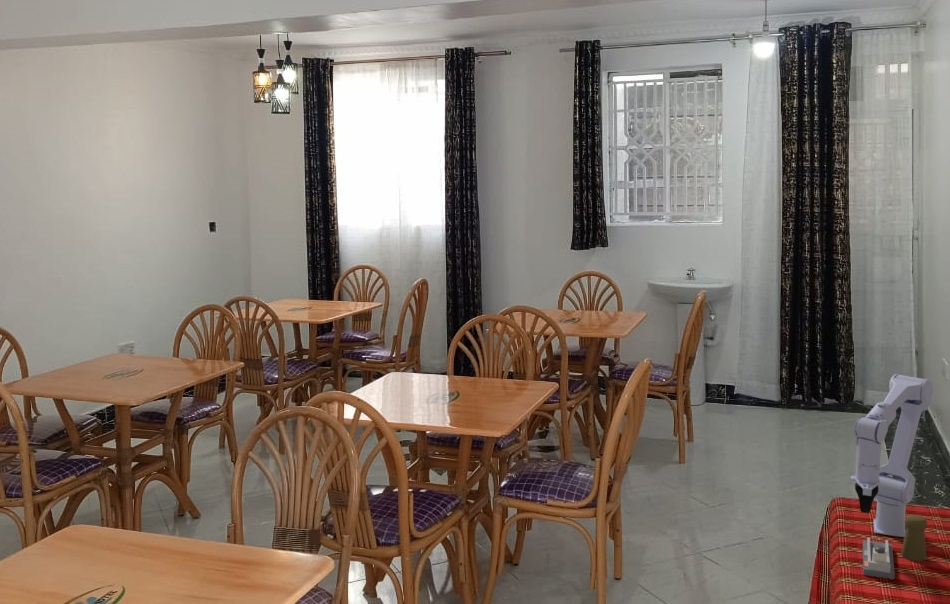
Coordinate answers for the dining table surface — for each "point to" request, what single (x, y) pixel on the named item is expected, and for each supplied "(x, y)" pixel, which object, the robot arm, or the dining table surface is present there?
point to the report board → (877, 567)
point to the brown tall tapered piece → (914, 538)
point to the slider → (879, 554)
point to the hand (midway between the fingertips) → (865, 511)
